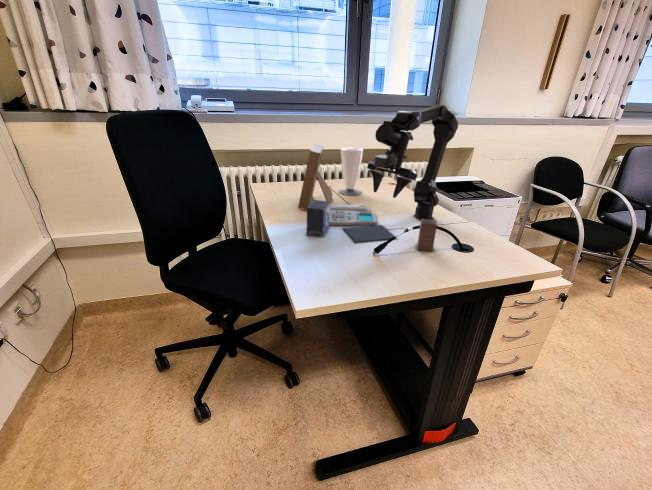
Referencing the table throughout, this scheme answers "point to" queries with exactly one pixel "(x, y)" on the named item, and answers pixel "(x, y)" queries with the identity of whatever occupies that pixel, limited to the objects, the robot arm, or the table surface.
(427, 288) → the table surface
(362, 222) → the office telephone
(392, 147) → the robot arm
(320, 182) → the photo frame
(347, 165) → the cup
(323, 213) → the small box
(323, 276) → the table surface
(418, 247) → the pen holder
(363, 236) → the desk pad
